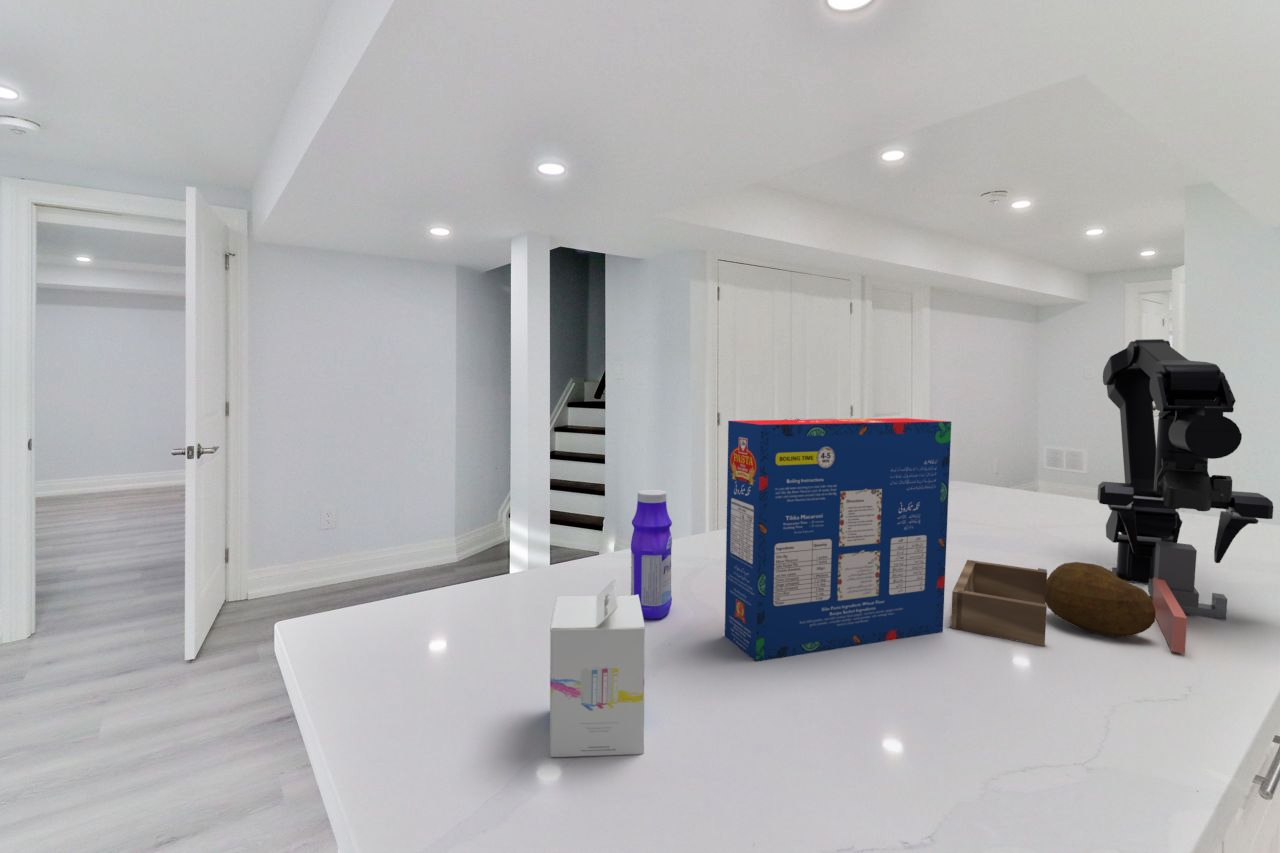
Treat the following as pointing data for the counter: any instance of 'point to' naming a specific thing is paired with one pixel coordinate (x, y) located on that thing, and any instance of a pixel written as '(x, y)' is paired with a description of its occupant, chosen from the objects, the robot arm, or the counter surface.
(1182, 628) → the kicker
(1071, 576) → the potato
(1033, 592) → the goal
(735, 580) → the pasta box
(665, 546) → the bottle
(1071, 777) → the counter surface
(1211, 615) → the rail
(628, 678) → the ink box
